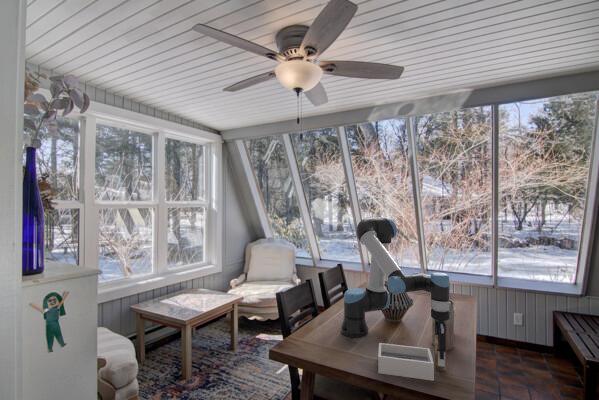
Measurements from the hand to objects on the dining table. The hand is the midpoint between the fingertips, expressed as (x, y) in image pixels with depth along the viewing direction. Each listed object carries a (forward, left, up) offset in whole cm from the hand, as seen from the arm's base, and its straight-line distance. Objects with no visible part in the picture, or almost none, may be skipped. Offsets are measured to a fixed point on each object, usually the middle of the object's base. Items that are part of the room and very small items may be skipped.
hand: (440, 362), depth 140 cm
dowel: (0, 0, -3) cm, 3 cm away
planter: (+5, +25, -3) cm, 26 cm away
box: (-15, -4, -3) cm, 16 cm away
